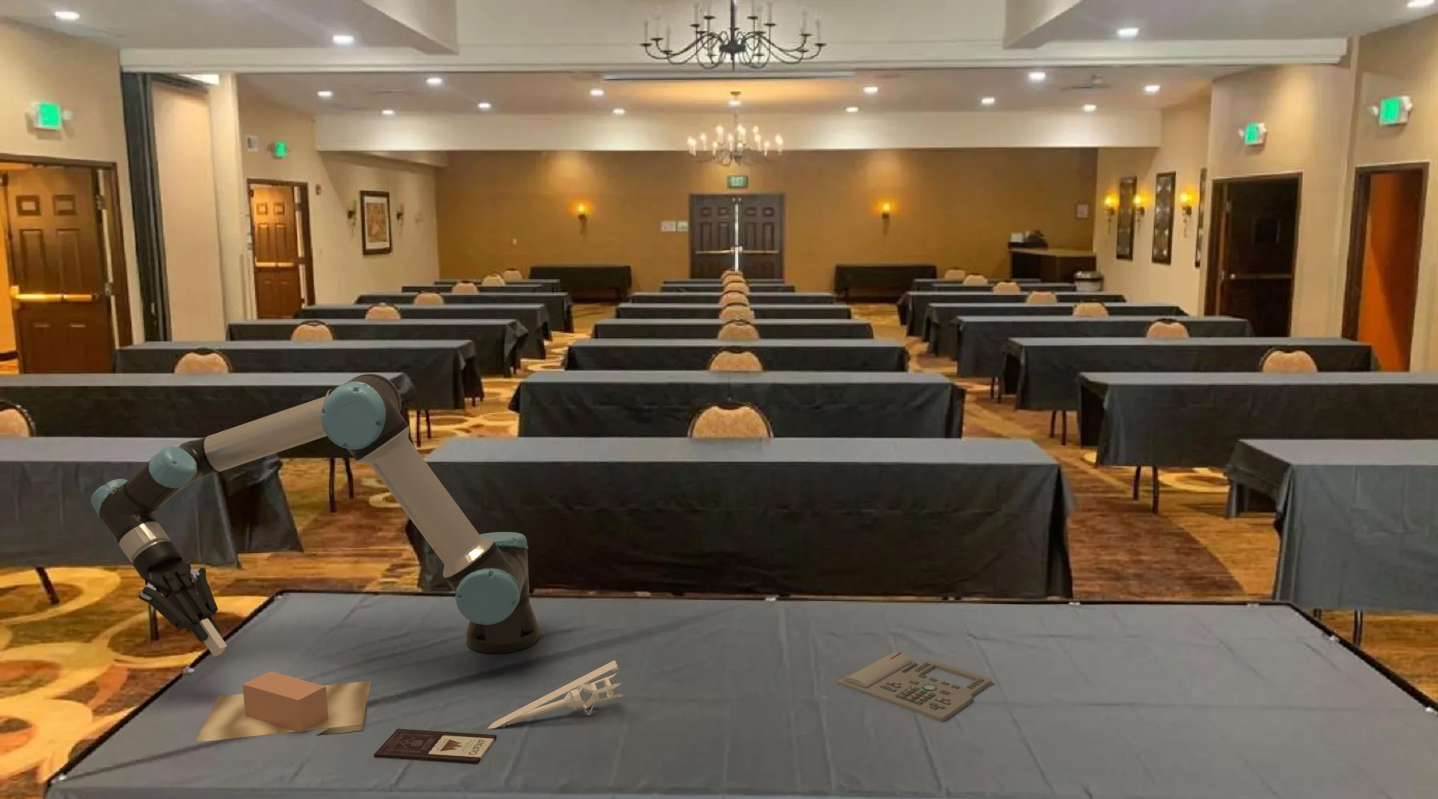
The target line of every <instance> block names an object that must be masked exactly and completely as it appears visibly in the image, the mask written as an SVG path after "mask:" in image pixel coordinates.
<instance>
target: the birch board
mask: <svg viewBox="0 0 1438 799" xmlns="http://www.w3.org/2000/svg"><path fill="white" fill-rule="evenodd" d="M372 682H373V681H372V680H367V681H366V680H365V681H355V682H347V683H345V682H344V683H337V684H334V683H333V684H326V685H323V686H326V694H327V706H328V719H326V720H324V721H322V722H320V723H318V724H317V725H315V726H313V727H311V728H309V729H307V730H305V731H304V732H306V731H313V730H314V731H315V730H323V731H321V732H320V733H318V734H316V735H315V736H327V735H334V734H343V733H344V734H346V733H353V732H362V731H363V729H364V723H365V720H366V716H367V711H368V707H367V703H368V699H369V695H370V690H371V686H372ZM324 729H325V730H324ZM296 732H297V731H294V730H290V729H287V728H284V727H280V726H277V725H274V724H270V723H267V722H264V721H260V720H257V719H254V718H251V717H247V716H245V706H244V695H243V693H236V694H226V695H225V694H224V695H219V696H218V698H217V700H216V702H215V703H214V706H213V707H212V709H211V711H210V713H209V715H208V717H207V718H206V720H205V723H204V724H203V727H202V728H201V729H200V731H199V733H198V735H197V736H196V738H195V740H194V743H196V744H197V743H203V742H213V741H221V740H232V739H233V740H234V739H242V738H249V737H258V736H260V737H261V736H268V735H277V734H279V735H280V734H285V733H296Z"/></svg>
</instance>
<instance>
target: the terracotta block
mask: <svg viewBox="0 0 1438 799" xmlns="http://www.w3.org/2000/svg"><path fill="white" fill-rule="evenodd" d="M241 685H242V694H243V695H244V706H245V716H247V717H251V718H254V719H257V720H260V721H264V722H267V723H270V724H274V725H277V726H280V727H284V728H287V729H290V730H294V731H297V732H298V733H304V732H306V731H305V730H307V729H309V728H311V727H313V726H315V725H317V724H318V723H320V722H322V721H324V720H326V719H328V706H327V694H326V686H324V685H322V684H319V683H315V682H312V681H307V680H304V679H300V678H296V677H293V676H290V675H285V674H282V673H278V672H274V671H268V672H266V673H264V674H262V675H259V676H258V677H255V678H253V679H251V680H248V681H247V682H245V683H242V684H241ZM307 731H308V730H307Z"/></svg>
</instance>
